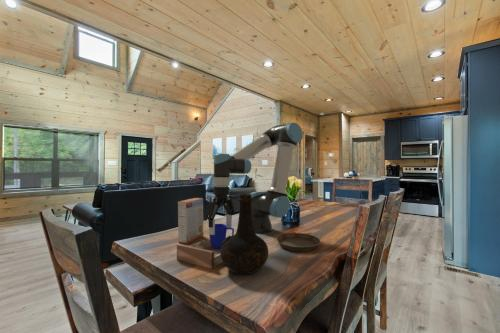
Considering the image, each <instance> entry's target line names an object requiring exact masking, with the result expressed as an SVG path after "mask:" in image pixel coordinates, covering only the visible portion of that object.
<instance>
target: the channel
mask: <svg viewBox="0 0 500 333" xmlns="http://www.w3.org/2000/svg"><path fill="white" fill-rule="evenodd" d="M205 248H206V239H202V240H200V241H197V242H195V243H193V244H191V245H186V244H183V243H177V244H176V260H178V261H180V262H181V261H182V262H185V263H187V264H193V265H197V266H200V267H203V268H208V269H214V268H215V267H217V266H218V265H220V264H222V263H224V262H223V260H222V258H221V252H219V254H217V255H215V250H209V249H205Z"/></svg>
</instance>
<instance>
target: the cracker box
mask: <svg viewBox="0 0 500 333" xmlns="http://www.w3.org/2000/svg"><path fill="white" fill-rule="evenodd" d="M177 220H178V221H177V224H178V225H177V227H178V229H177V230H178V232H177V233H178V236H177V237H178V243H180V244H189V243H191V242H193V241H196V240H197V239H200V238H202V237H204V199H203V197H202V198H201V197H193V198H188V199H184V200H180V201H177Z"/></svg>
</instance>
